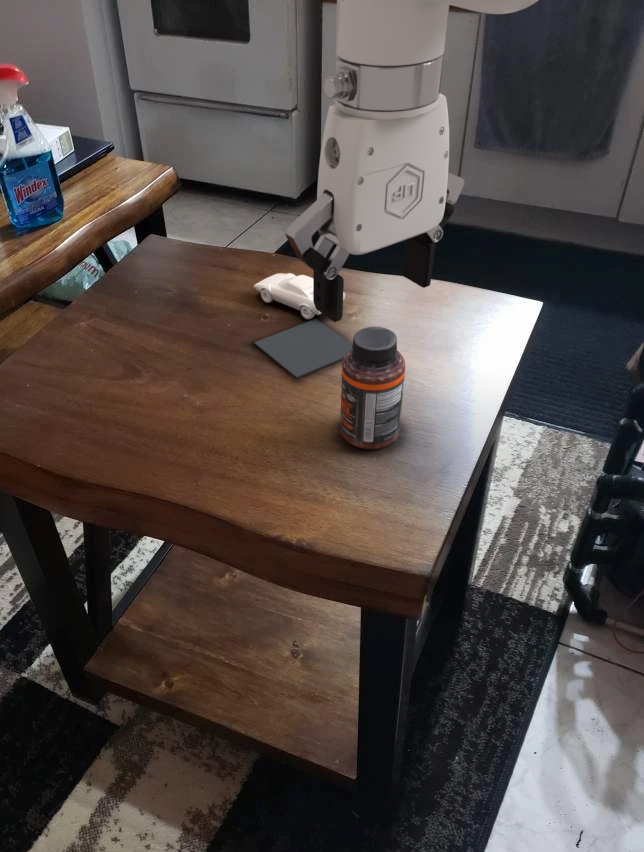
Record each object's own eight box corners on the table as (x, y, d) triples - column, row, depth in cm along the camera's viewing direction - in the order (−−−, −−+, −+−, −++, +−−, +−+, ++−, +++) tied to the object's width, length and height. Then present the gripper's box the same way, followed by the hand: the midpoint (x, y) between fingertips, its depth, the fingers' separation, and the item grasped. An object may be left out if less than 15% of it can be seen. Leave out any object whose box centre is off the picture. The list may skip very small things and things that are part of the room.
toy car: (278, 282, 100) (277, 258, 98) (349, 309, 94) (350, 284, 91) (250, 297, 97) (248, 272, 95) (320, 326, 91) (321, 300, 89)
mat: (315, 320, 93) (315, 318, 92) (360, 351, 87) (360, 350, 87) (254, 344, 89) (254, 342, 89) (296, 378, 84) (296, 376, 84)
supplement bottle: (331, 423, 78) (332, 326, 70) (384, 410, 79) (391, 314, 71) (353, 458, 73) (357, 360, 66) (409, 444, 74) (419, 346, 67)
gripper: (319, 120, 48) (317, 348, 60) (513, 69, 55) (476, 285, 66) (258, 93, 53) (267, 310, 65) (442, 49, 59) (420, 254, 71)
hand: (373, 297), depth 66 cm, fingers open, 9 cm apart
